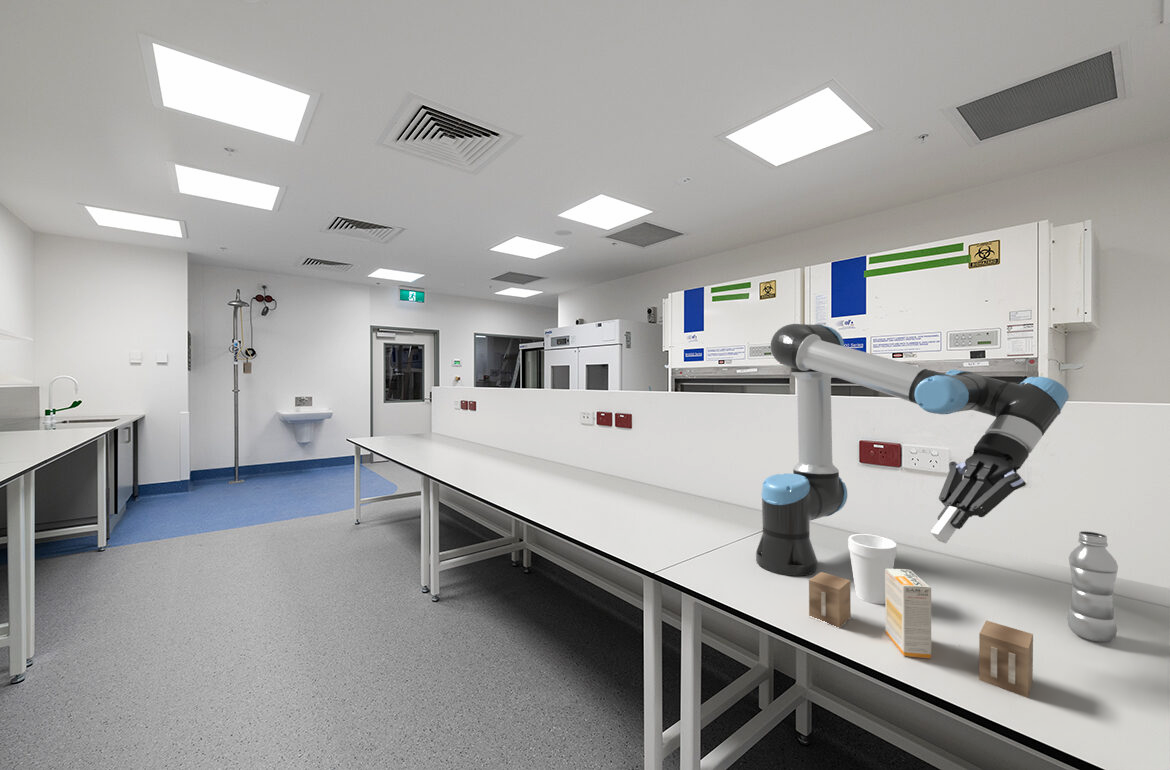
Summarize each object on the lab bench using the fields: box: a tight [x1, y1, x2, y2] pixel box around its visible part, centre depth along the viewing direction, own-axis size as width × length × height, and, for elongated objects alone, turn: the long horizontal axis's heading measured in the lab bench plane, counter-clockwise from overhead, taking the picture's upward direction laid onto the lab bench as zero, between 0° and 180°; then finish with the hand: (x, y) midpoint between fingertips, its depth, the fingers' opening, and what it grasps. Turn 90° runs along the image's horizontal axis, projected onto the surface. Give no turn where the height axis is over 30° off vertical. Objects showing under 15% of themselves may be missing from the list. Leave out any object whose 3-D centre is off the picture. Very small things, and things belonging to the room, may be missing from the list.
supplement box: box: [884, 568, 932, 659], centre depth 89 cm, size 8×5×13 cm, turn 168°
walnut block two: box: [978, 620, 1034, 699], centre depth 79 cm, size 6×6×8 cm
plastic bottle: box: [1066, 530, 1119, 643], centre depth 91 cm, size 6×7×20 cm
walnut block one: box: [808, 571, 852, 629], centre depth 100 cm, size 6×6×8 cm
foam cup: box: [847, 533, 898, 605], centre depth 108 cm, size 10×9×13 cm
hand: (938, 537), depth 89 cm, fingers closed
